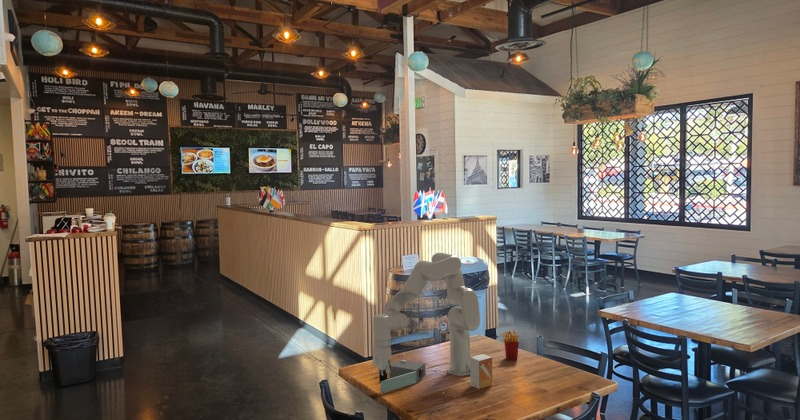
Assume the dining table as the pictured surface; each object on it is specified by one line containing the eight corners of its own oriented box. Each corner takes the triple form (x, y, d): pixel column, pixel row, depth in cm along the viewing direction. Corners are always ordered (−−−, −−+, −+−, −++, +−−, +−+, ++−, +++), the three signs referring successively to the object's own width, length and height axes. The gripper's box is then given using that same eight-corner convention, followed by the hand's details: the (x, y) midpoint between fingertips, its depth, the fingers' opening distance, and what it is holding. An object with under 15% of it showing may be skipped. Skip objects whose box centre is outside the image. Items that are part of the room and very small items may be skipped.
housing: (427, 376, 249) (427, 361, 249) (418, 383, 241) (417, 368, 240) (399, 371, 257) (399, 357, 256) (389, 378, 248) (389, 364, 247)
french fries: (519, 361, 267) (519, 332, 266) (503, 361, 267) (502, 332, 266) (515, 355, 275) (515, 327, 275) (500, 356, 275) (499, 327, 275)
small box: (479, 389, 232) (479, 360, 231) (469, 385, 237) (469, 357, 236) (492, 385, 236) (492, 357, 235) (483, 381, 241) (482, 353, 241)
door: (415, 382, 241) (415, 370, 241) (416, 382, 240) (416, 371, 240) (380, 392, 230) (380, 381, 229) (381, 393, 229) (381, 381, 229)
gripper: (366, 339, 236) (368, 379, 237) (383, 348, 223) (384, 390, 224) (381, 336, 240) (382, 376, 241) (398, 345, 227) (399, 386, 228)
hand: (383, 382), depth 233 cm, fingers closed
